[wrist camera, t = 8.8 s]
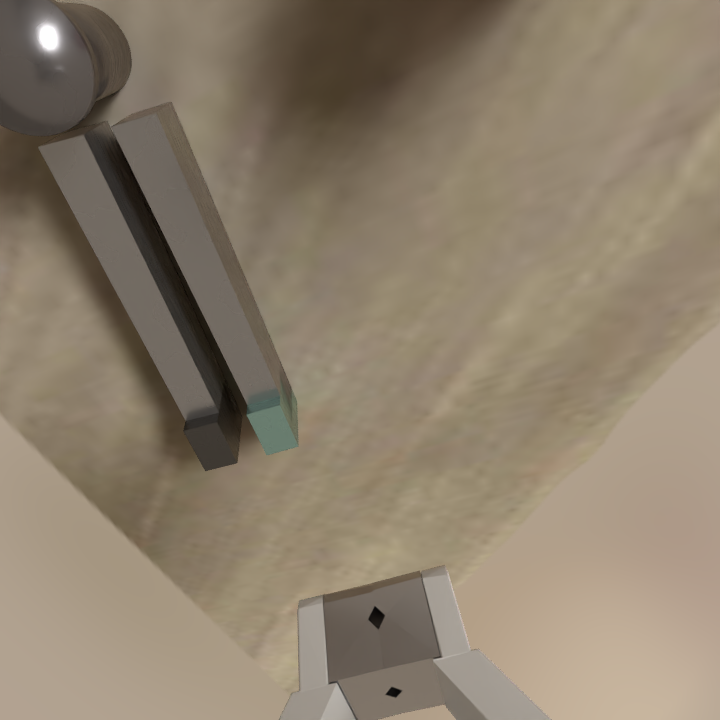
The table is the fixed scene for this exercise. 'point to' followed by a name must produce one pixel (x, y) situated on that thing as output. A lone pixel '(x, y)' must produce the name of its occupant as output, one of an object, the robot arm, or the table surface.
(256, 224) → the table surface
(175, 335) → the tongs base
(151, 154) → the bar
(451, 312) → the table surface
